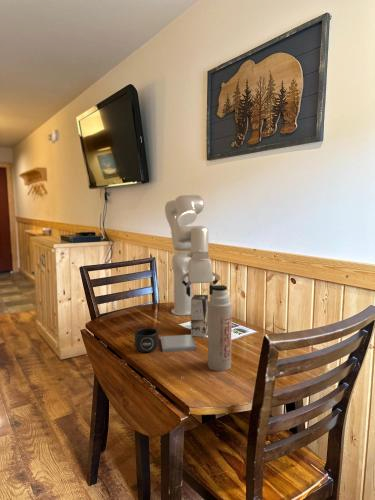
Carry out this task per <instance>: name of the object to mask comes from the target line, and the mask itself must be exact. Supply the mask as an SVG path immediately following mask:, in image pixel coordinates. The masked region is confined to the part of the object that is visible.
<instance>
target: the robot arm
mask: <svg viewBox="0 0 375 500" xmlns="http://www.w3.org/2000/svg"><path fill="white" fill-rule="evenodd" d="M204 206H205V204H204V199H203V197H202V196H201V195H199V194H198V195H197V194H192V195H191V194H189V195H188V194H183V195H181V194H180V195H179V196H177V197H176V198H175V199H174V200H169V201H167V202H166V203H165V205H164V213H165V218H166V220H167V222H168V225H169V227H170V234H171V240H172V247H173V249H174V250H175V251H176V252H177V253H174V254H173V255H172V257H171V264H172V265H171V266H172V270H173V293H174V294H173V295H174V297H173V298H174V299H173V301H174V303H173V304H174V305H173V306H174V308H171V313H172V315H176V316H191V299H192V298H193V284H206V283H209V291H208V292H209V295H210V296H211V295H212V294H213V289H212V287H213V286H216V285H217V284H218V281H219V279H220V277H221V275H219V274H217V273H215V272H213V267H212V265H213V264H212V260H211V258H209V256H210V255H209V254H210V253H209V229H208V227H206V226H204V225H190V224H193V223H194V222H195V221H196V220H197V217H198V215H199V214H200V213H201V212H203V211H204ZM213 277H215V278H214V279H213Z"/></svg>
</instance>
